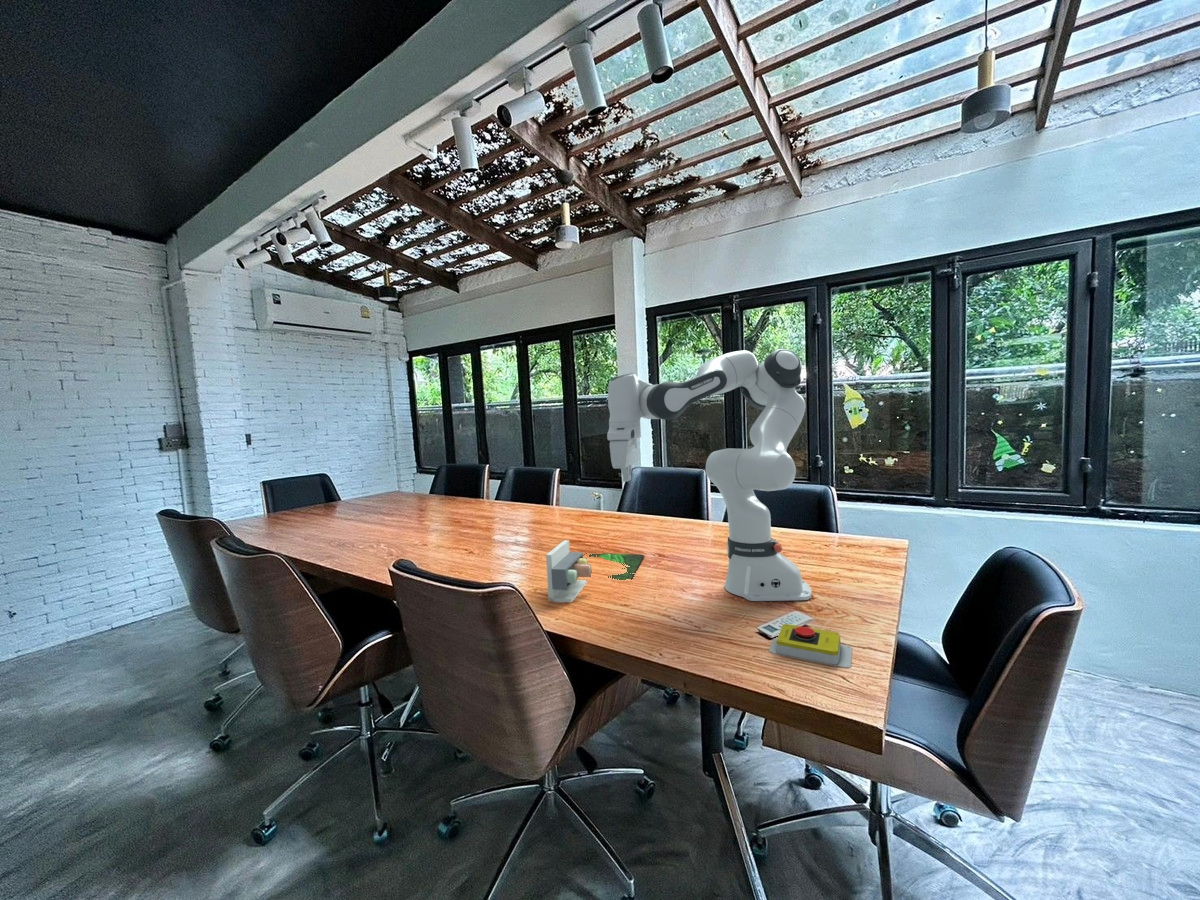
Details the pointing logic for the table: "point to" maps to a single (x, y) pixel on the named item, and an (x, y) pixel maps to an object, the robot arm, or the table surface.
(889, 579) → the table surface
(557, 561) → the console
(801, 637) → the emergency button
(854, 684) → the table surface
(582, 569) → the terracotta button
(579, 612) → the table surface
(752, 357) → the robot arm
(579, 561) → the mustard button
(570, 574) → the sage button
